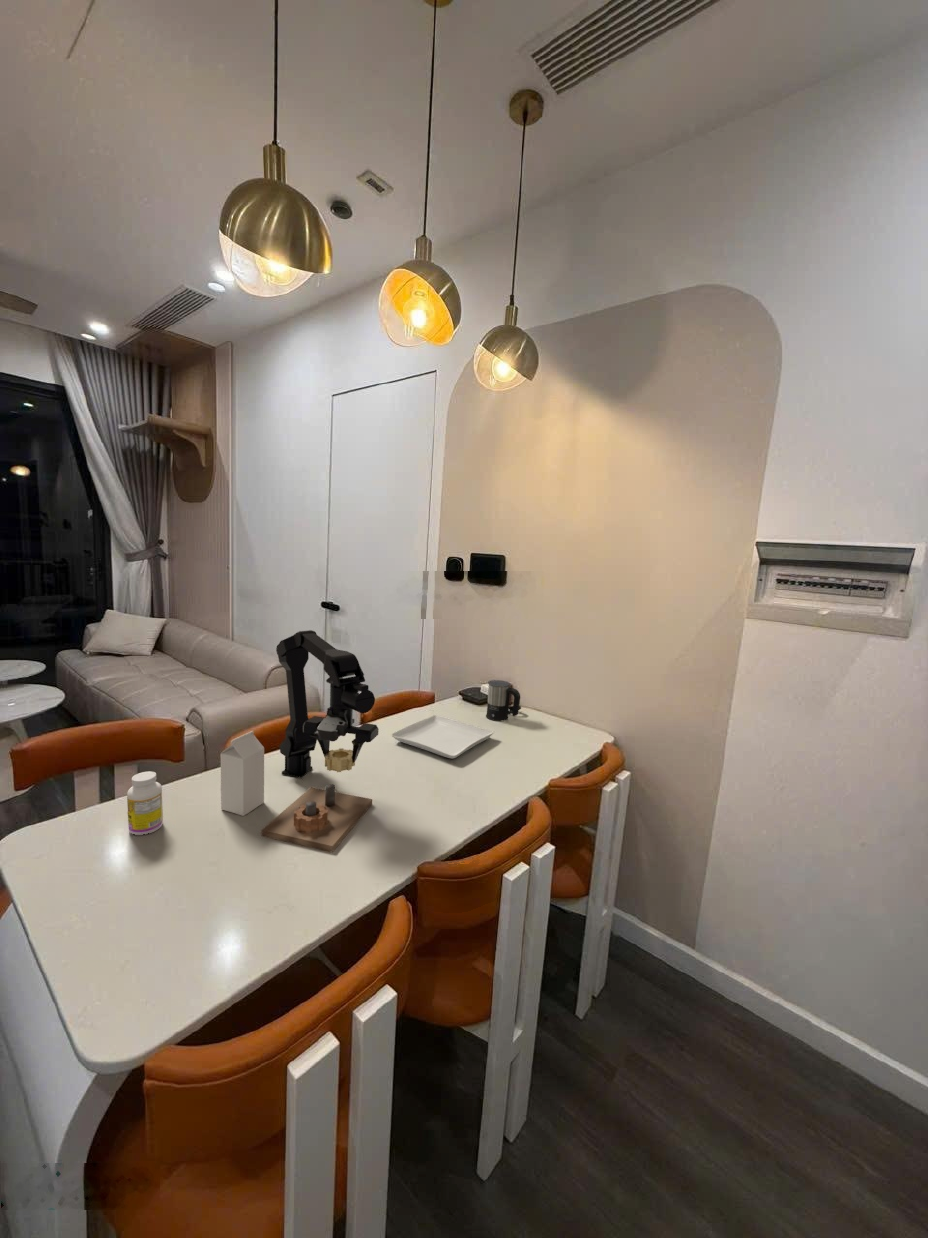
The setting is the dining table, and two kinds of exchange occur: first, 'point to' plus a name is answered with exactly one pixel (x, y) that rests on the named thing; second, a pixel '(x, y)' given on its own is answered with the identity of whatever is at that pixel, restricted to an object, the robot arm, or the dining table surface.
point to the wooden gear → (339, 760)
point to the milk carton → (242, 775)
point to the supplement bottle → (144, 804)
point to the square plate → (442, 736)
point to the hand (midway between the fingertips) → (340, 759)
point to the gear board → (318, 818)
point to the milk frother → (501, 700)
